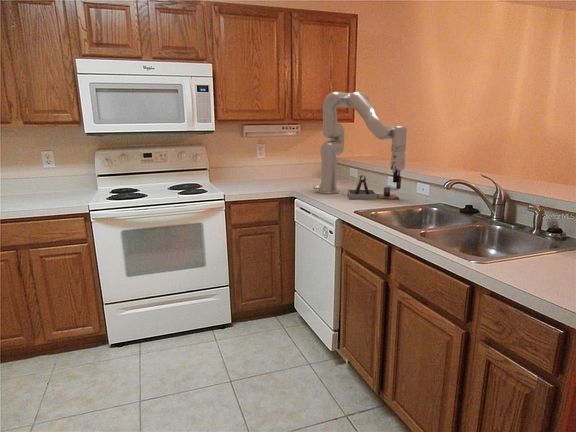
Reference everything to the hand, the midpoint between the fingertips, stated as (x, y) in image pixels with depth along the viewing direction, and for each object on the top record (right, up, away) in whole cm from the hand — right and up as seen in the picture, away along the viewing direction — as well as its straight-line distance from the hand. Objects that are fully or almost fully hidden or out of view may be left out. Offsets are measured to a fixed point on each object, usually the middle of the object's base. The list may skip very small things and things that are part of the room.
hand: (396, 182), depth 218 cm
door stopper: (-17, -7, +11) cm, 22 cm away
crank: (0, -7, +8) cm, 10 cm away
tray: (-17, -8, +11) cm, 22 cm away
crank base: (-3, -8, +10) cm, 13 cm away
